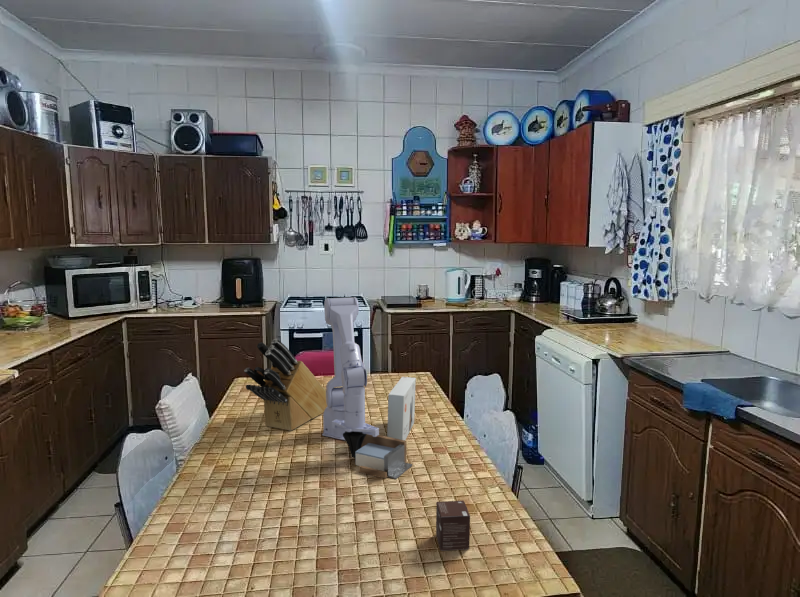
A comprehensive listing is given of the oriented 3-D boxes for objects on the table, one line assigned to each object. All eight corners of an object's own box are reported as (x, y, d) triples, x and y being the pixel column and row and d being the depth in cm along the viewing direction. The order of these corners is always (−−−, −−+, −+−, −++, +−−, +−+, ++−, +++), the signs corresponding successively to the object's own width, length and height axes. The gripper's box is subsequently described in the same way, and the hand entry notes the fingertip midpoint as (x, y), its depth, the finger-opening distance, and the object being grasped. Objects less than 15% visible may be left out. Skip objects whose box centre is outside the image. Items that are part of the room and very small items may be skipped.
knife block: (243, 436, 160) (239, 340, 157) (309, 404, 192) (307, 323, 188) (272, 442, 155) (268, 343, 152) (335, 408, 187) (333, 325, 183)
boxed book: (354, 466, 140) (354, 452, 139) (368, 456, 146) (368, 442, 146) (386, 473, 135) (386, 459, 135) (399, 463, 142) (399, 449, 141)
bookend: (384, 476, 133) (384, 456, 132) (400, 462, 141) (400, 443, 140) (396, 479, 131) (396, 458, 131) (412, 465, 139) (412, 446, 139)
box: (435, 534, 107) (435, 501, 106) (463, 532, 107) (464, 499, 106) (440, 551, 101) (440, 516, 100) (470, 550, 101) (470, 515, 100)
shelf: (329, 464, 140) (328, 443, 139) (352, 449, 150) (352, 429, 150) (385, 478, 132) (385, 456, 131) (406, 461, 142) (406, 440, 141)
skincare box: (404, 447, 152) (404, 395, 150) (386, 445, 153) (386, 394, 151) (416, 422, 172) (416, 376, 171) (400, 421, 173) (400, 375, 172)
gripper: (324, 409, 141) (325, 456, 142) (369, 418, 134) (369, 467, 136) (339, 402, 147) (340, 447, 149) (382, 410, 140) (383, 457, 142)
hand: (355, 456), depth 143 cm, fingers closed
